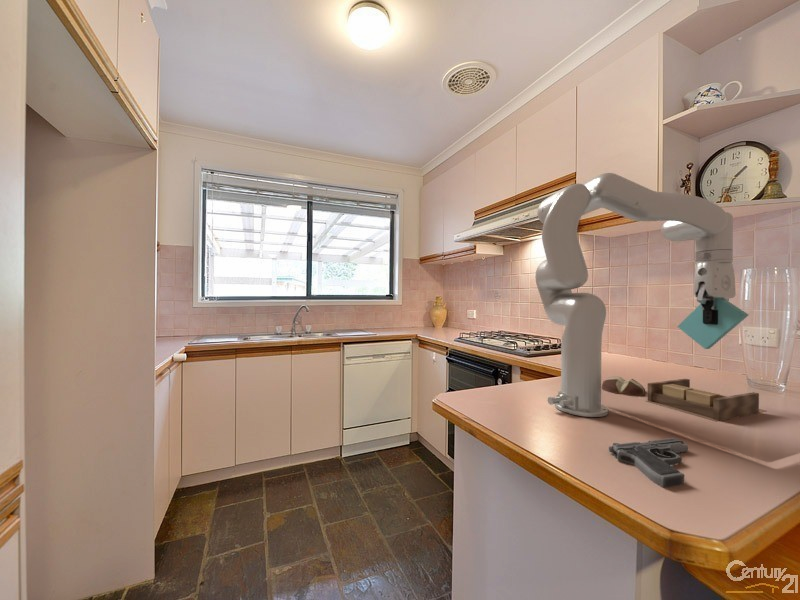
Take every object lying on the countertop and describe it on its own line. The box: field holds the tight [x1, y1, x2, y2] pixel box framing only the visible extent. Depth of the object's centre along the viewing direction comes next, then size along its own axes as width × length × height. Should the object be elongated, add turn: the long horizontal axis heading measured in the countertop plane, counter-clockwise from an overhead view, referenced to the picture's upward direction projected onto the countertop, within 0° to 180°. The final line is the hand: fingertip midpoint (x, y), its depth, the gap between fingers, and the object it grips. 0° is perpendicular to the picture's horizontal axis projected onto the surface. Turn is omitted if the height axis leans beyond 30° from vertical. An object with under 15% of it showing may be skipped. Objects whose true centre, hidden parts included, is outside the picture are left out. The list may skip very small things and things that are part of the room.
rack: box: [645, 378, 767, 423], centre depth 88 cm, size 22×16×6 cm
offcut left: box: [663, 384, 694, 400], centre depth 88 cm, size 4×5×5 cm
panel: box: [677, 297, 749, 350], centre depth 91 cm, size 2×9×13 cm
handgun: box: [608, 437, 689, 488], centre depth 59 cm, size 2×17×12 cm
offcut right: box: [686, 388, 721, 407], centre depth 83 cm, size 4×5×5 cm
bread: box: [601, 376, 646, 397], centre depth 102 cm, size 11×11×5 cm
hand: (713, 323), depth 90 cm, fingers closed on panel, 1 cm apart
